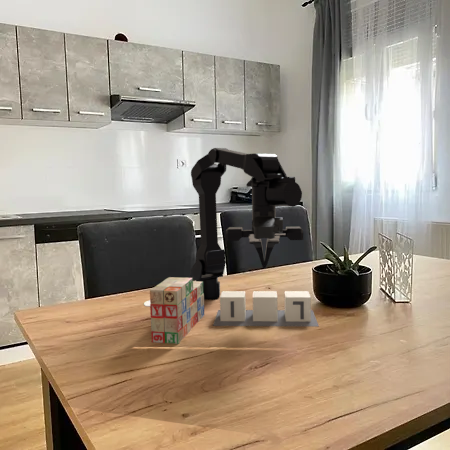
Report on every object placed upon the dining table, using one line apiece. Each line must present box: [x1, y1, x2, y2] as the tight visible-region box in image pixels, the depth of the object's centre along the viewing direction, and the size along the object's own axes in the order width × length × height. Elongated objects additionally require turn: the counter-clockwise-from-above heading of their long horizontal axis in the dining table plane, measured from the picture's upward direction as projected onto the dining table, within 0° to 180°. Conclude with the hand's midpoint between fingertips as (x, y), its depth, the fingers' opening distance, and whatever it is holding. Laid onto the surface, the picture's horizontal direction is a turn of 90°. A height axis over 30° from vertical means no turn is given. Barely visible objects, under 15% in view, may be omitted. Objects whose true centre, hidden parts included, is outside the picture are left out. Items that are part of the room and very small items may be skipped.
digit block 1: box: [219, 290, 247, 321], centre depth 113 cm, size 6×6×6 cm
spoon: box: [143, 299, 151, 307], centre depth 135 cm, size 5×18×1 cm, turn 163°
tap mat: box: [212, 309, 319, 327], centre depth 113 cm, size 25×13×1 cm, turn 85°
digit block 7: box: [283, 290, 312, 322], centre depth 112 cm, size 6×6×6 cm
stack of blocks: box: [149, 276, 205, 345], centre depth 106 cm, size 21×6×12 cm, turn 167°
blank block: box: [252, 290, 279, 321], centre depth 113 cm, size 6×6×6 cm
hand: (264, 268), depth 112 cm, fingers closed
